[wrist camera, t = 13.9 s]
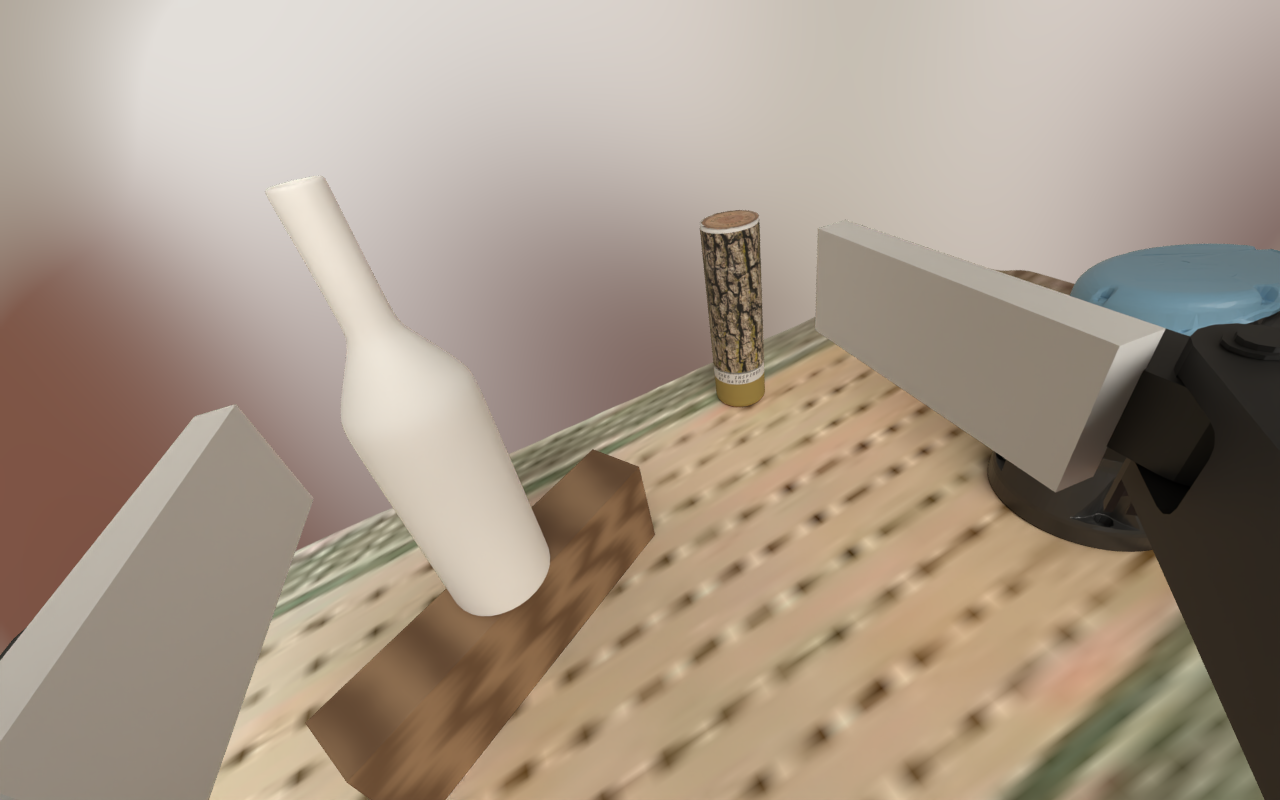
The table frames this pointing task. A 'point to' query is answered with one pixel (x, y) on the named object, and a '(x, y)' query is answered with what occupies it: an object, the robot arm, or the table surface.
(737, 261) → the paper tube
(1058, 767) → the table surface
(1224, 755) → the table surface
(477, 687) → the wooden block
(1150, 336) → the robot arm
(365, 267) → the bottle
